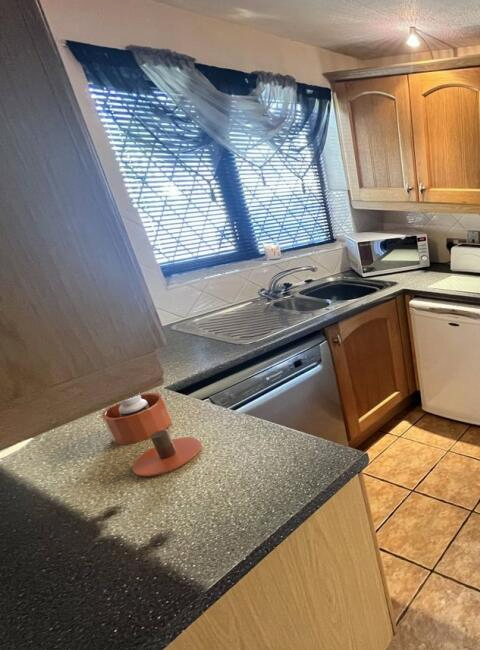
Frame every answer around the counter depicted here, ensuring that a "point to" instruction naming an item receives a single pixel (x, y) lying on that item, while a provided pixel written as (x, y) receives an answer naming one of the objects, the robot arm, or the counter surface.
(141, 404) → the pill bottle
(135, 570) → the counter surface
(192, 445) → the lid
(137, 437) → the pot
